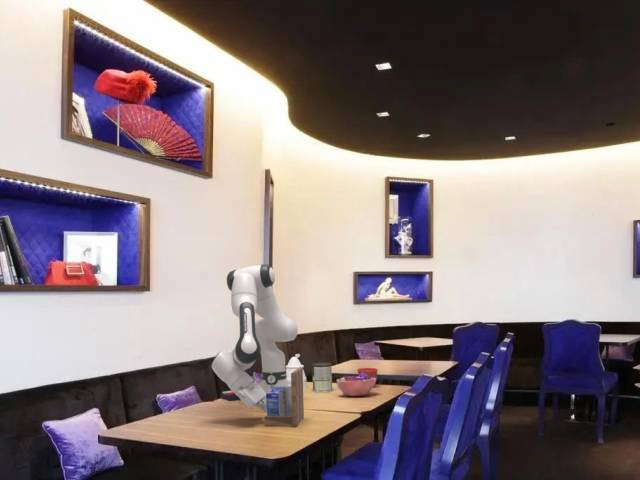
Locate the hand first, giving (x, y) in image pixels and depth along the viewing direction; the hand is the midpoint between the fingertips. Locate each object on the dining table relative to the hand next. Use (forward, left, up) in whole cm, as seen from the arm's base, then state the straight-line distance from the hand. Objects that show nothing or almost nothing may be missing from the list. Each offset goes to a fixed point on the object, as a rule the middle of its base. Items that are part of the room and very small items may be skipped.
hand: (267, 410), depth 241 cm
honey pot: (-92, -5, -5) cm, 92 cm away
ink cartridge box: (0, +3, -5) cm, 6 cm away
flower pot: (-91, +35, -5) cm, 97 cm away
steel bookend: (-8, +6, -5) cm, 11 cm away
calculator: (-59, -28, -5) cm, 65 cm away
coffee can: (-79, +12, -5) cm, 80 cm away
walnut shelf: (0, +7, -5) cm, 8 cm away
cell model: (-63, +31, -5) cm, 70 cm away
